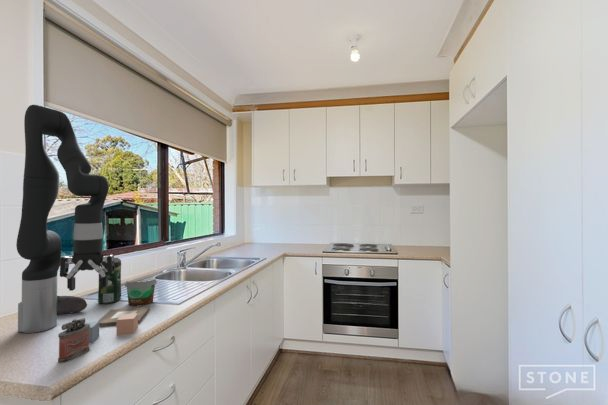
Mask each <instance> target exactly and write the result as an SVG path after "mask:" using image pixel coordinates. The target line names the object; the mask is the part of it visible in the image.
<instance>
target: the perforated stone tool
mask: <svg viewBox="0 0 608 405" xmlns="http://www.w3.org/2000/svg"><path fill="white" fill-rule="evenodd" d="M87 306H88V303H87V301H86V300H85V299H84V298H82V297H80V296H75V295H57V315H66V314H67V313H68V314H74V313H79V312H82V311H84V310H86V308H87Z"/></svg>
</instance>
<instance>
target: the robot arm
mask: <svg viewBox="0 0 608 405" xmlns="http://www.w3.org/2000/svg"><path fill="white" fill-rule="evenodd" d="M70 120H71V119H70V118H69V117H68V115H67V114H66V113H64V112H62V111H61V110H58V109H53V108H49V107H46V106H43V105H38V104H31V105H28V107H27V108H26V110H25V114H24V122H23V123H24V143H25V146H24V147H25V153H24V154H25V155H24V156H25V157H24V170H23V182H22V203H21V204H22V205H21V217H20V222H19V227H18V232H17V238H16V242H15V243H16V251H17V253H18V255H19V256H20V257H21V258H23V259H24V260H26V261H27V260H28V261H29V263H28V265H27V266H26V267H25V269H23V271H22V272H21V301H20V302H19V303H18V304H17V333H24V334H33V333H39V332H44V331H47V330H50V329H53V328H54V327H56V326H57V325H58V314H57V296H58V271H59V277H61V278H66V279H67V280H66V283H67V285H66V288H67V289H68V291H69V292H70V291H74V290H76V275H77V274H78V272H80V271H95V272H96V273H98V275H99V274H100V275H101V276H102V277H101V289H104V288H105V287H106V286H107V285H108V275H111V274H113V273H114V272H115V265H114V258H115V256H114V254H110V255H104V254H103V251H104V250H103V246H104V244H103V242H104V240H103V239H104V229H103V209H104V205H105V201H106V200H107V196H108V193H109V190H110V185H109V181H108V179H107V177H106V176H104V175H101V174H93V173H92V174H91V172H92V166H91V163H90V161H89V160H88V158H87V157H86V155H85V154H84V152H83V151H82V149H81V147H80V145H79V143H78V139H77V136H76V133H75V131H74V128H73V126H72V123H71V121H70ZM43 136H48V137H55V138H57V139H59V141H60V142H61V143H60V145H59V146H58V148H57V151H56V152H57V155H56V156H57V159H58V161H59V163H60V165H61V167H62V168H63V170H64V171H65V176H66V184H67V189H68V191H69V192H70V193H71V194H73V195H74V196H77V197H90V198H89V200H88V202H85V203H81V204H78V205H76V206H75V208H74V226H73V233H72V234H73V235H72V237H73V239H72V240H73V245H72V248H73V251H72V253H73V254H72V255H73V256H68V255H66V256H63V257H62V240H61V237H60V235H59V234H58V233H57V232H55V231H53V230H49V229H48V228H47V227H48V226H47V225H48V217H49V214H50V212H51V210H52V208H53V206H54V204H55V202H56V200H57V198H58V195H59V191H60V173H59V170H58V169H57V167H56V165H55V164H54V162H53V160H52V159H51V158H50V156H49V155H48V153H47V150H46V148H45V145H44V137H43ZM104 260H105V262H106V263H107V269H108V271H107V270H106V269H105V267H104V266H103V265H102V264H101V262H102V261H104ZM71 262H72V263H73V264H74V266H73V267H72V268H71V270H70V272H69V268H70V267H69V266H70V263H71Z"/></svg>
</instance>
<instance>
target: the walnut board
mask: <svg viewBox="0 0 608 405" xmlns="http://www.w3.org/2000/svg"><path fill="white" fill-rule="evenodd" d="M150 308H151V307H150V306H147V307H146V306H145V307H132V308H131V307H130V308H117V309H116V308H115V309H109V311H107V313H105V314H104V315H103V316H102V317H100V318H99V319H98V320H97V321H99V328H100V327H111V326H117V319H118V318H119V317H120V316H121V315H122V314H136V313H138V325H139V324H140V323H141V322H142V321H143V320H144V318H145V317H146V316H147V314H148V313H149V312H150V310H151V309H150ZM142 319H143V320H142Z"/></svg>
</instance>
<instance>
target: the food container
mask: <svg viewBox="0 0 608 405" xmlns="http://www.w3.org/2000/svg"><path fill="white" fill-rule="evenodd" d="M157 283H158V282H157V280H156V278H154V279H151V280H137V281H128V280H127V279H126V281H125V284H124V287H125V288H126V292H127V293H126V294H127V302H128V305H129V306H130V307H143V306H147V305H150V304H152V303H153V302H154V296H155V289H156V287H155V286H156V285H157Z"/></svg>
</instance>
